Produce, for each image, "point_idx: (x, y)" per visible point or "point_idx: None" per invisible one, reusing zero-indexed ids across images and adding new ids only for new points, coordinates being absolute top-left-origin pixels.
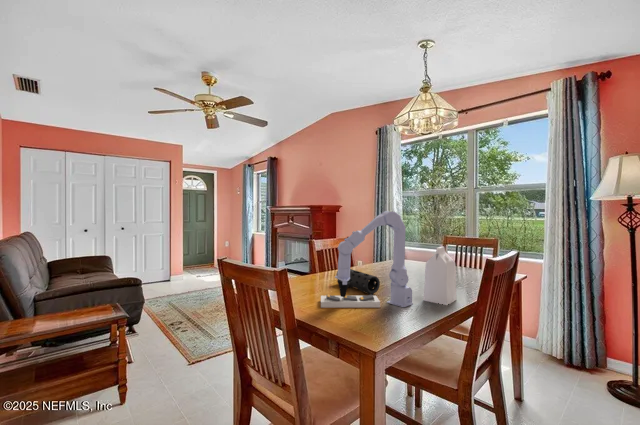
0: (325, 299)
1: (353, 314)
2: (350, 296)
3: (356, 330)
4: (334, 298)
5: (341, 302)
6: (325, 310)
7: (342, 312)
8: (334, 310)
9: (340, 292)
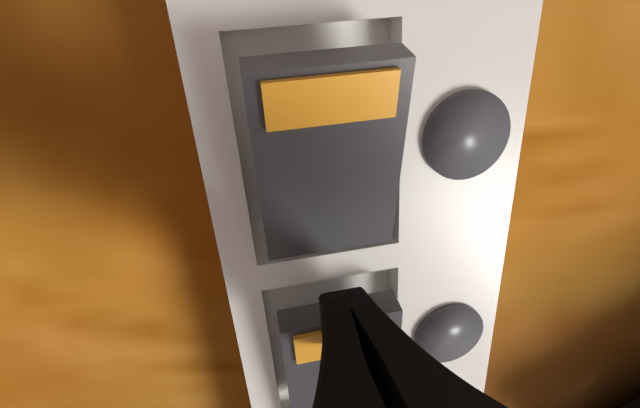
0: (394, 24)
1: (21, 373)
2: None
3: None
4: (277, 199)
5: (226, 277)
6: (48, 44)
7: (46, 269)
8: (91, 173)
9: (322, 340)
